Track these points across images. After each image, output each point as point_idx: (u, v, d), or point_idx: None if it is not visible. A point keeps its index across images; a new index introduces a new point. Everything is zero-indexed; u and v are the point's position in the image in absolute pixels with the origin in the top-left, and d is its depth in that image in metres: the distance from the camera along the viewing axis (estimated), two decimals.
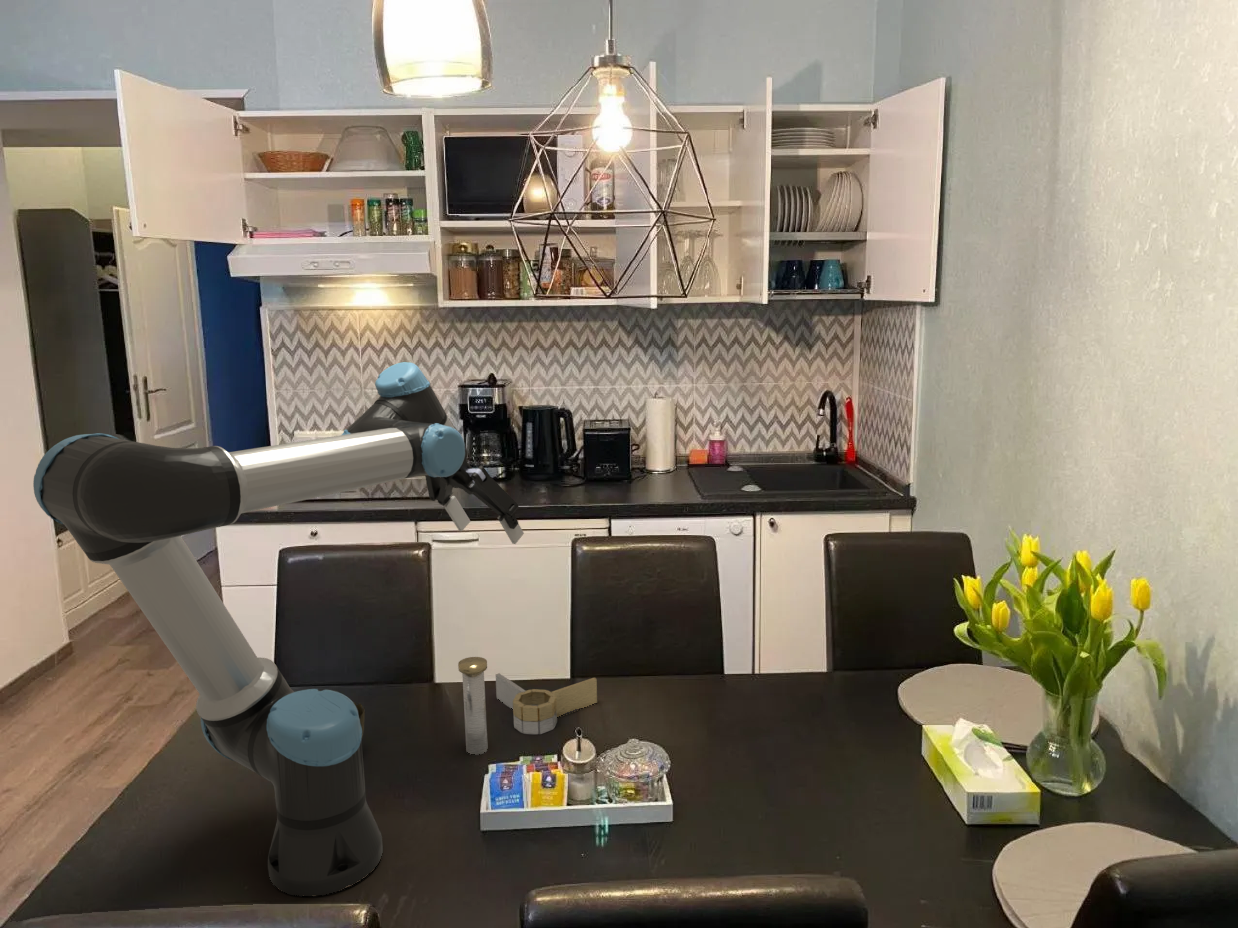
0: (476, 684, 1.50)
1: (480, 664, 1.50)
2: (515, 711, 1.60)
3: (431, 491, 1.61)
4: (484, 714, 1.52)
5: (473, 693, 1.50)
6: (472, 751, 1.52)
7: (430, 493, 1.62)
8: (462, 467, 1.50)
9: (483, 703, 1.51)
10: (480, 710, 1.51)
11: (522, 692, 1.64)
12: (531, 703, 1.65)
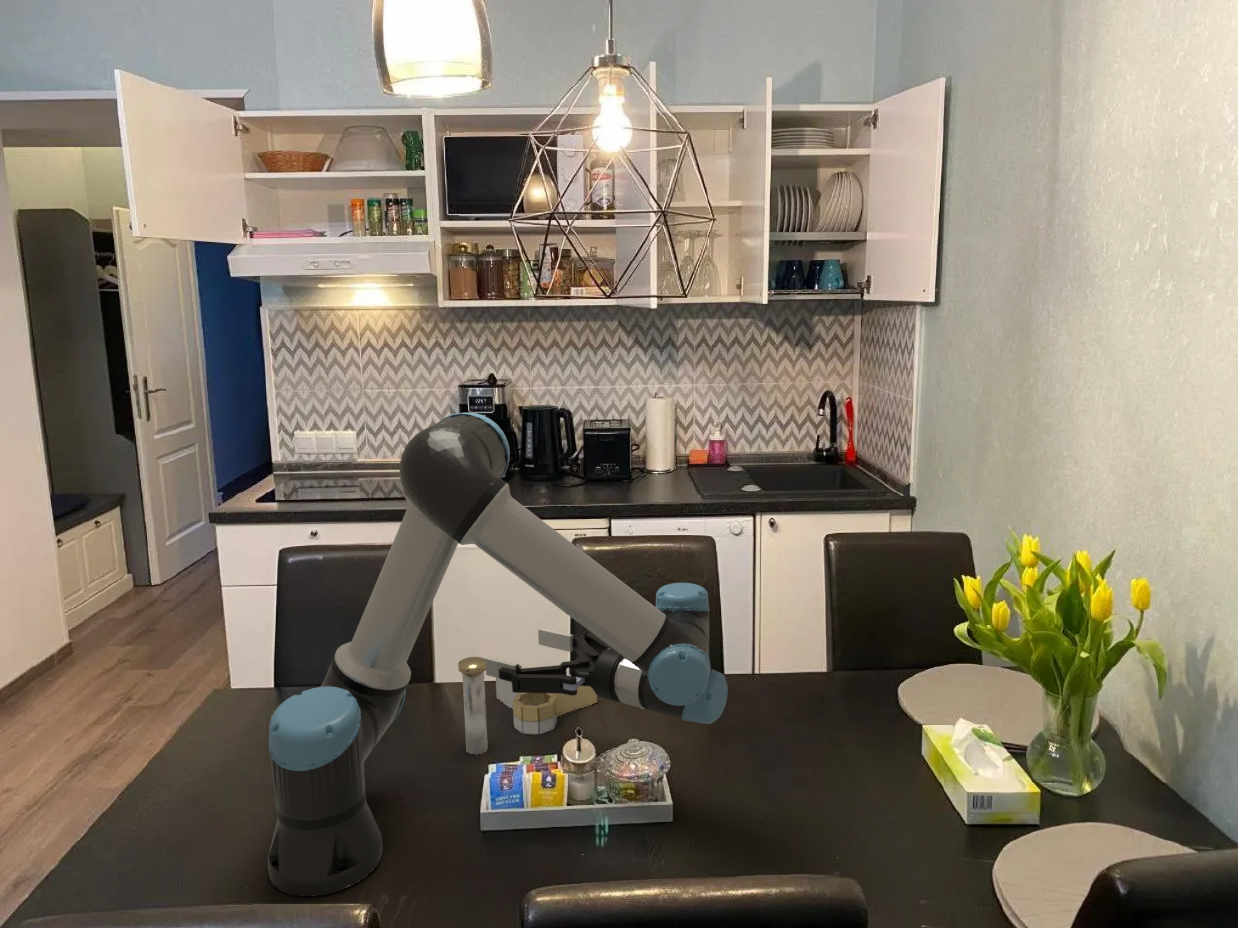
0: (476, 684, 1.50)
1: (480, 664, 1.50)
2: (515, 711, 1.60)
3: (593, 637, 1.47)
4: (484, 714, 1.52)
5: (473, 693, 1.50)
6: (472, 751, 1.52)
7: (592, 635, 1.47)
8: (589, 677, 1.33)
9: (483, 703, 1.51)
10: (480, 710, 1.51)
11: None
12: (531, 703, 1.65)
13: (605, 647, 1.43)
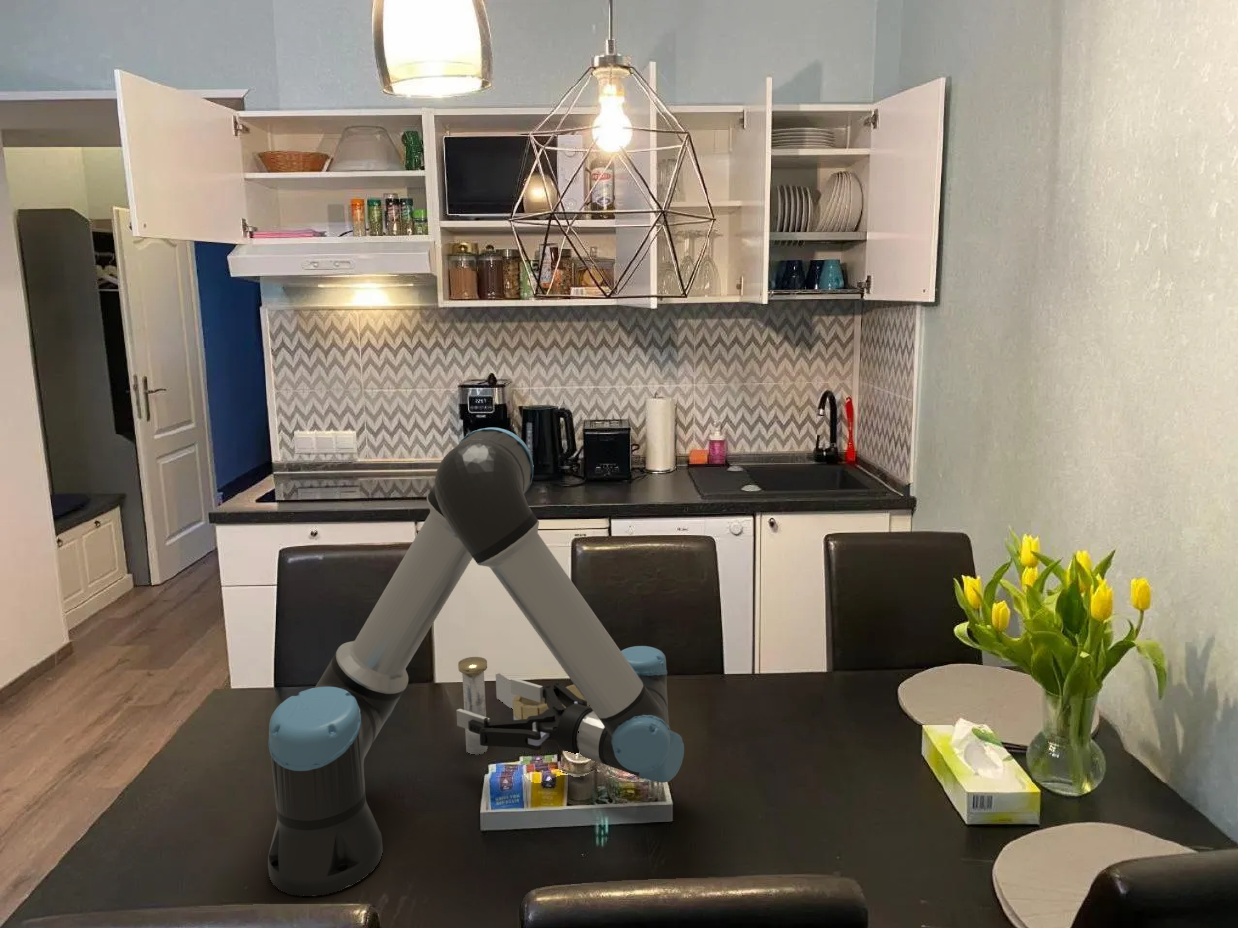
0: (476, 684, 1.50)
1: (480, 664, 1.50)
2: (515, 711, 1.60)
3: (562, 689, 1.53)
4: (484, 714, 1.52)
5: (473, 693, 1.50)
6: (472, 751, 1.52)
7: (561, 686, 1.53)
8: (553, 733, 1.39)
9: (483, 703, 1.51)
10: (480, 710, 1.51)
11: None
12: (531, 703, 1.65)
13: (572, 700, 1.49)
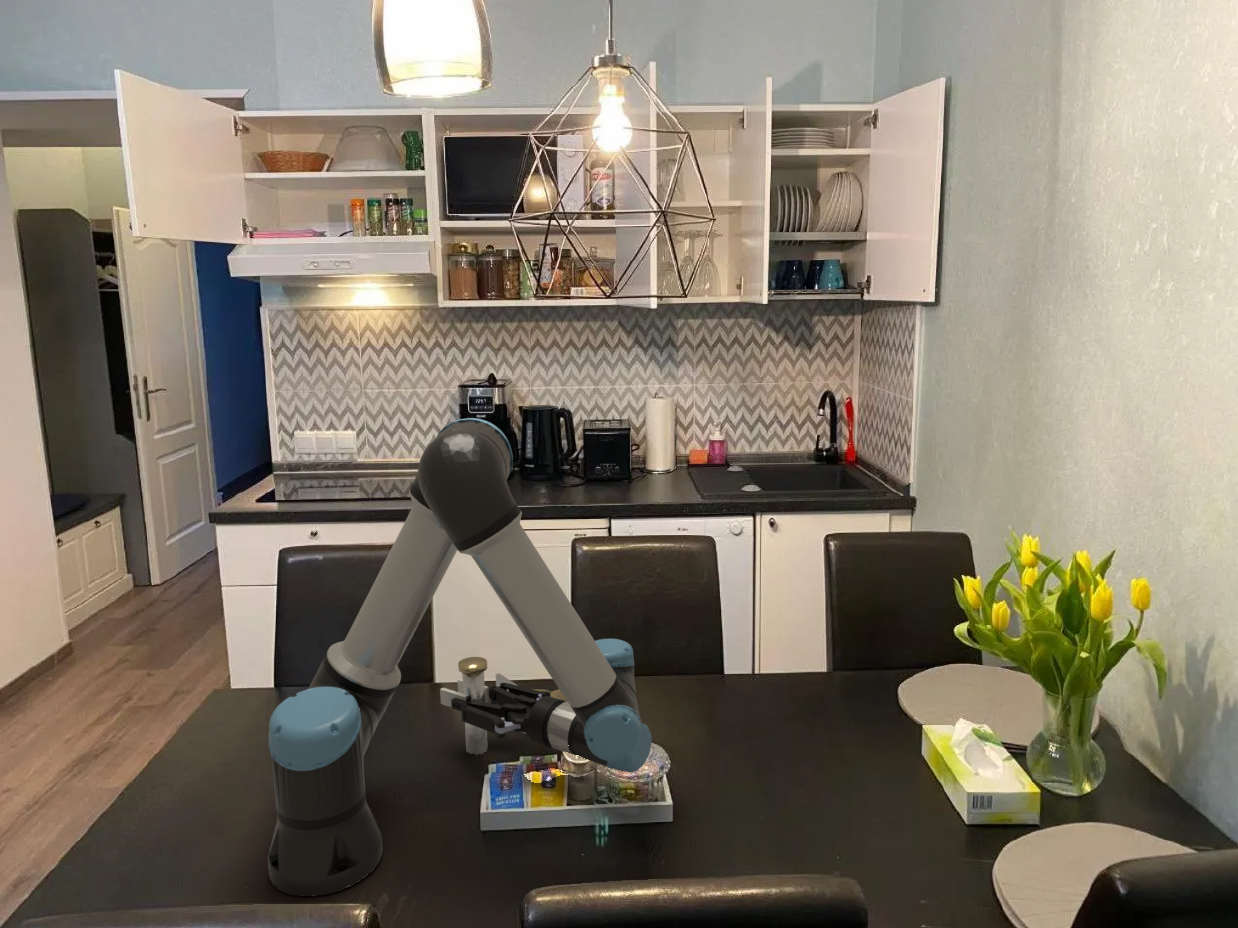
0: (476, 684, 1.50)
1: (480, 664, 1.50)
2: None
3: (513, 687, 1.53)
4: None
5: (473, 693, 1.50)
6: (472, 751, 1.52)
7: (510, 685, 1.54)
8: (524, 724, 1.42)
9: None
10: None
11: None
12: None
13: (534, 694, 1.51)
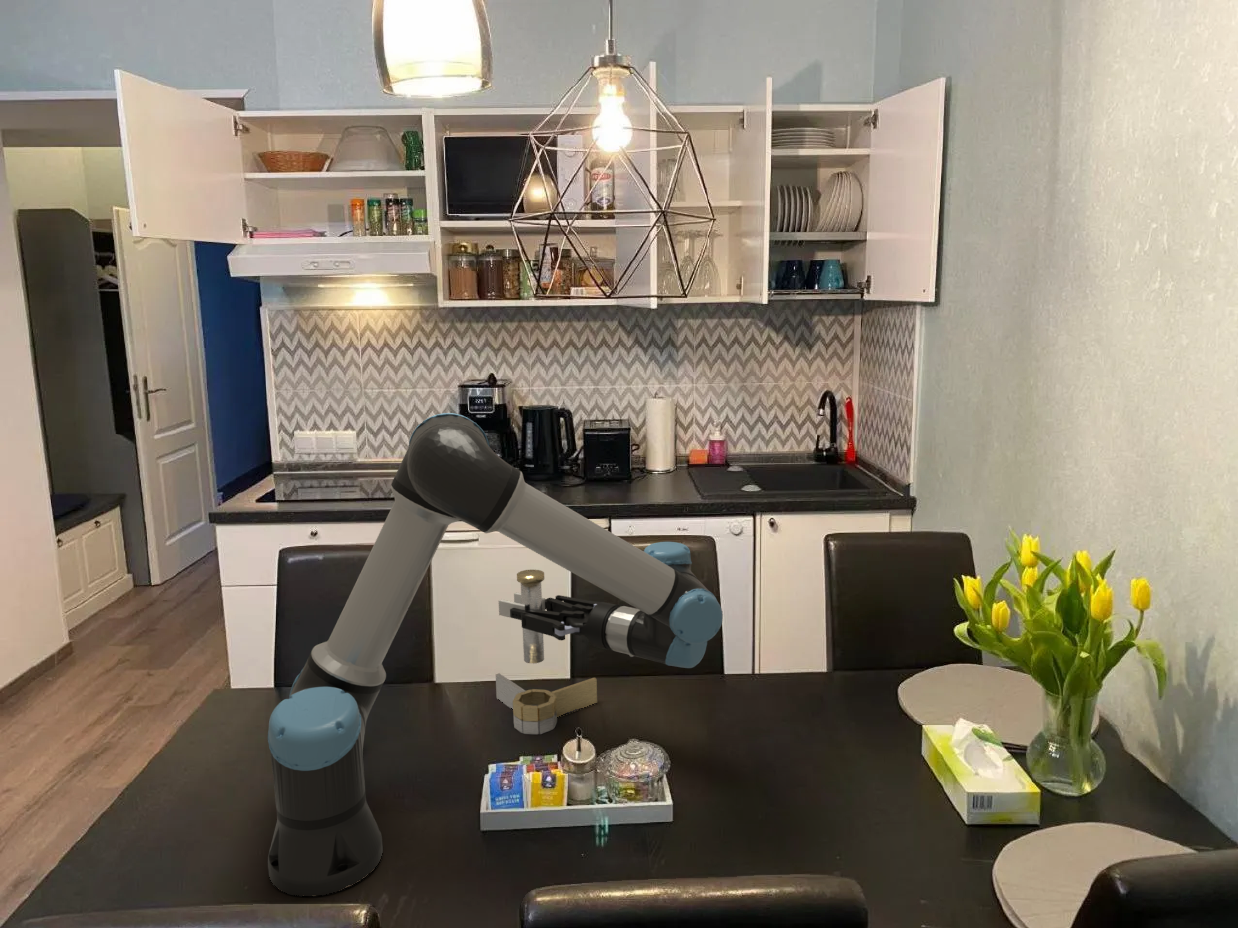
0: (534, 594, 1.56)
1: (538, 575, 1.56)
2: (515, 711, 1.60)
3: (569, 598, 1.59)
4: None
5: (531, 602, 1.56)
6: (530, 660, 1.58)
7: (566, 597, 1.60)
8: (583, 627, 1.48)
9: None
10: None
11: (522, 692, 1.64)
12: (531, 703, 1.65)
13: (589, 604, 1.57)
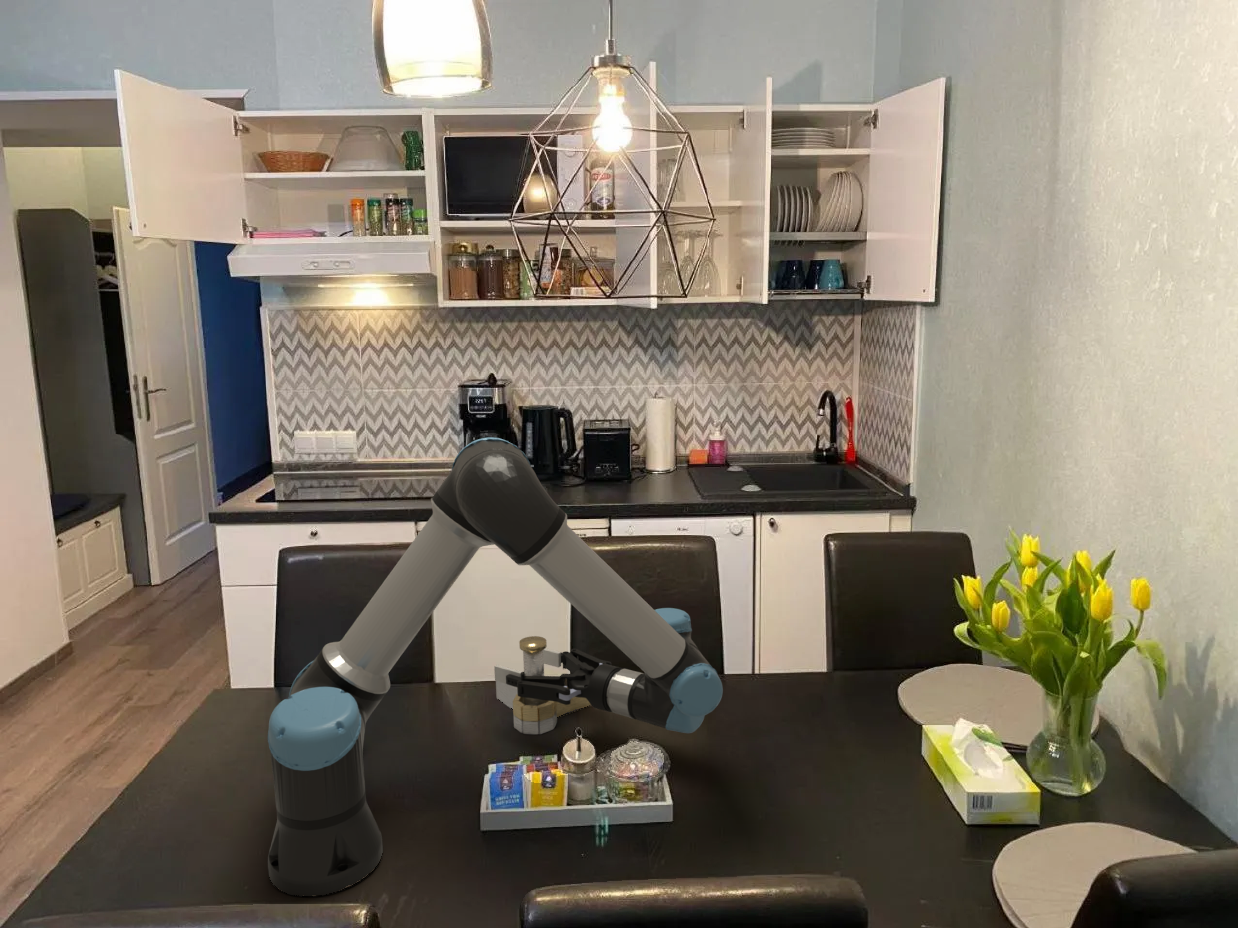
0: (536, 662, 1.58)
1: (540, 643, 1.59)
2: (515, 711, 1.60)
3: (581, 654, 1.63)
4: None
5: (533, 670, 1.59)
6: None
7: (580, 652, 1.64)
8: (585, 690, 1.50)
9: None
10: None
11: None
12: None
13: (596, 662, 1.60)
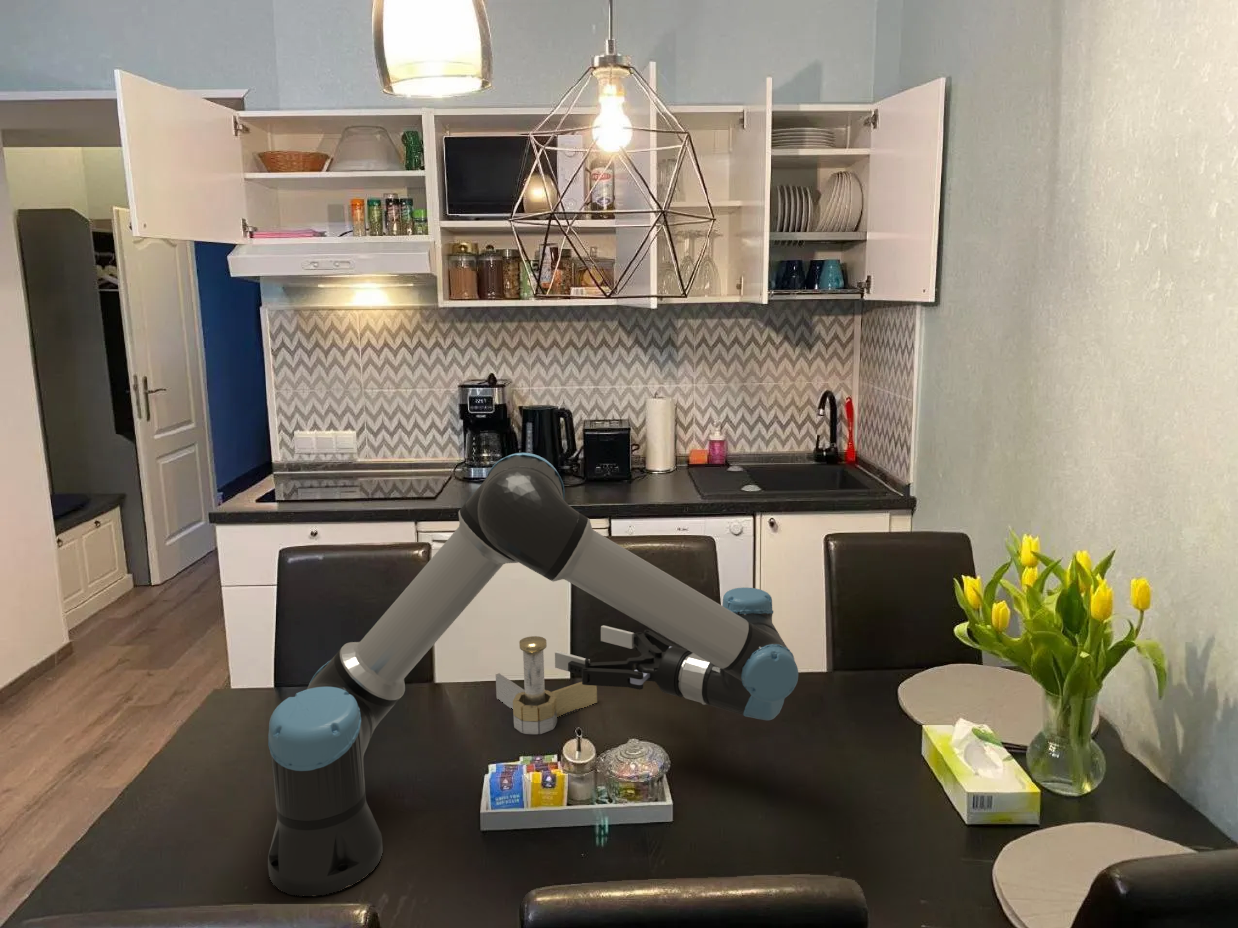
0: (536, 662, 1.58)
1: (540, 643, 1.59)
2: (515, 711, 1.60)
3: (653, 635, 1.55)
4: (543, 690, 1.61)
5: (533, 670, 1.59)
6: None
7: (652, 633, 1.56)
8: (654, 673, 1.42)
9: (542, 680, 1.60)
10: (540, 686, 1.60)
11: (522, 692, 1.64)
12: None
13: (666, 645, 1.51)
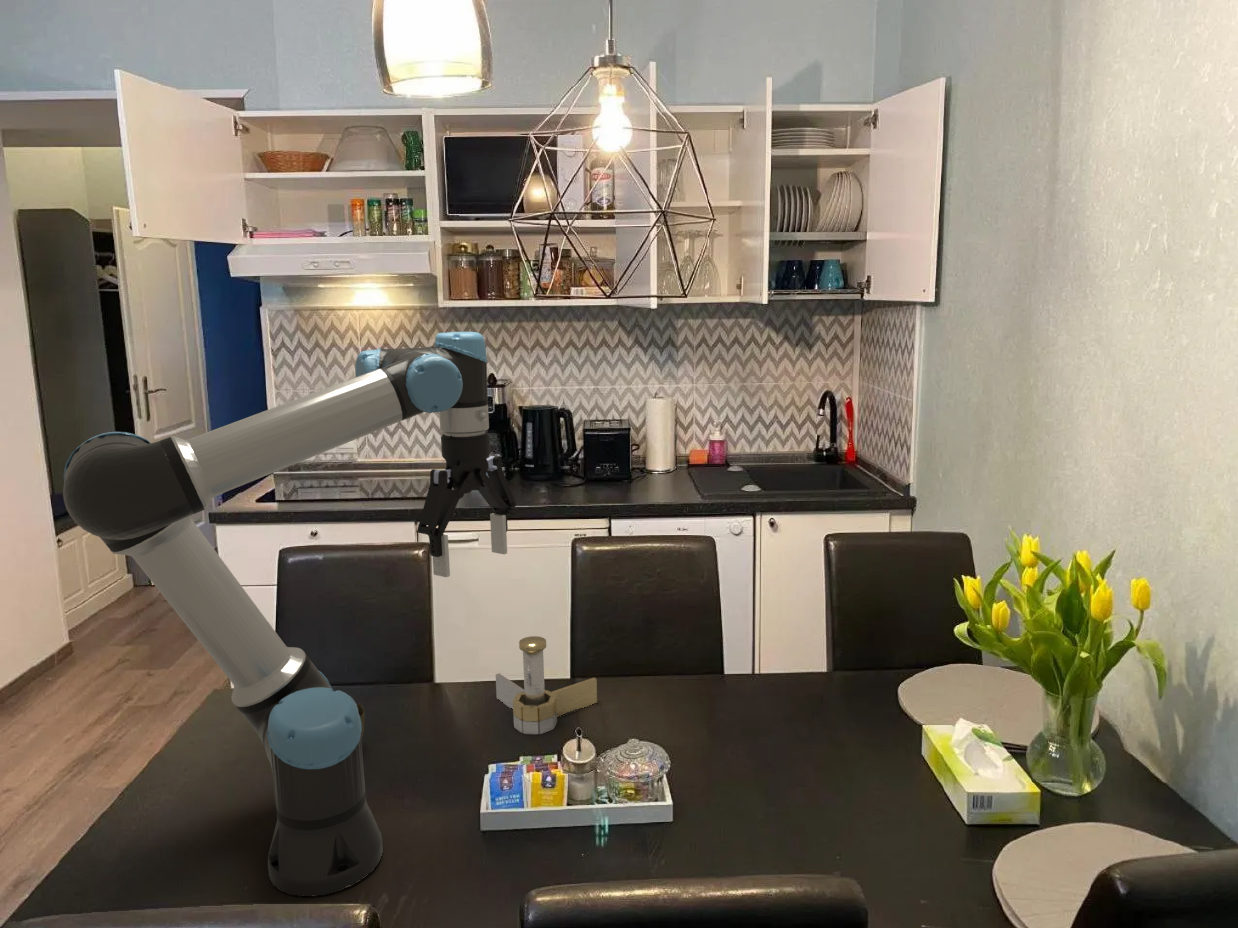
0: (536, 662, 1.58)
1: (540, 643, 1.59)
2: (515, 711, 1.60)
3: (496, 492, 1.48)
4: (543, 690, 1.61)
5: (533, 670, 1.59)
6: None
7: None
8: (447, 462, 1.37)
9: (542, 680, 1.60)
10: (540, 686, 1.60)
11: (522, 692, 1.64)
12: None
13: (487, 472, 1.46)
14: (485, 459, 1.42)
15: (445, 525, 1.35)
